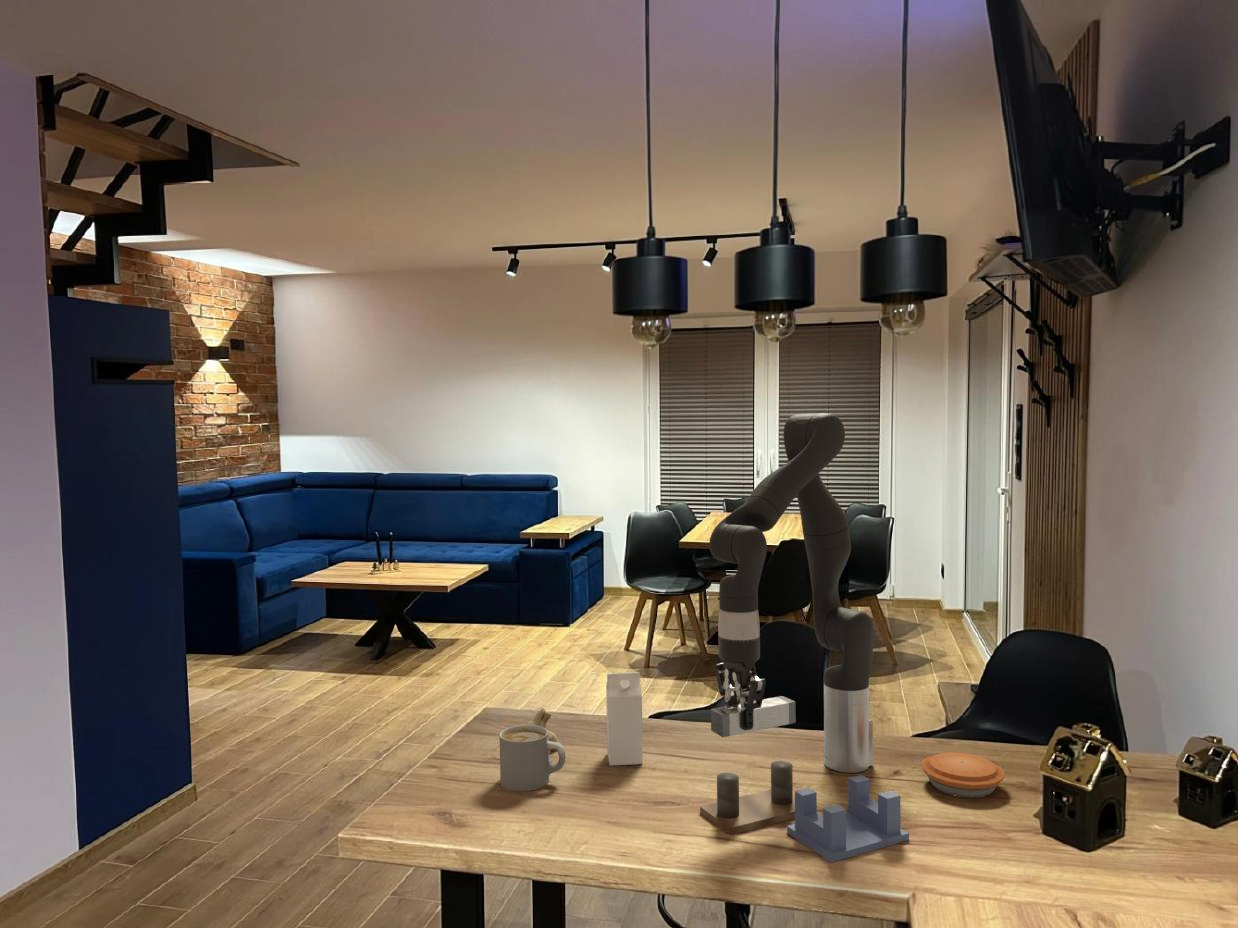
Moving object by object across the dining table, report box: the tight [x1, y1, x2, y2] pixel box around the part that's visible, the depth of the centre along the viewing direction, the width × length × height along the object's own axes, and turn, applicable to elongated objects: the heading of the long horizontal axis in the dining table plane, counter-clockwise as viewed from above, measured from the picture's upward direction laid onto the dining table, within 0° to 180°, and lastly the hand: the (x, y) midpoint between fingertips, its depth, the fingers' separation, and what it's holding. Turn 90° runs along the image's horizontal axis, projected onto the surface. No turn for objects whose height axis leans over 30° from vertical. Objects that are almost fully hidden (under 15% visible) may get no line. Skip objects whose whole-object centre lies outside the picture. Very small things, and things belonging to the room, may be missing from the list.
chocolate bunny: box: [526, 707, 561, 754], centre depth 196 cm, size 6×8×10 cm
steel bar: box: [710, 695, 797, 738], centre depth 163 cm, size 16×4×4 cm, turn 115°
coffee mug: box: [499, 724, 566, 792], centre depth 179 cm, size 13×10×10 cm
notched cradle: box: [786, 774, 910, 863], centre depth 154 cm, size 17×12×8 cm
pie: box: [920, 752, 1006, 799], centre depth 174 cm, size 16×16×5 cm
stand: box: [699, 760, 795, 836], centre depth 163 cm, size 18×10×8 cm, turn 116°
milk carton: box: [605, 671, 644, 766], centre depth 190 cm, size 7×7×19 cm
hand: (740, 724), depth 162 cm, fingers closed on steel bar, 4 cm apart
